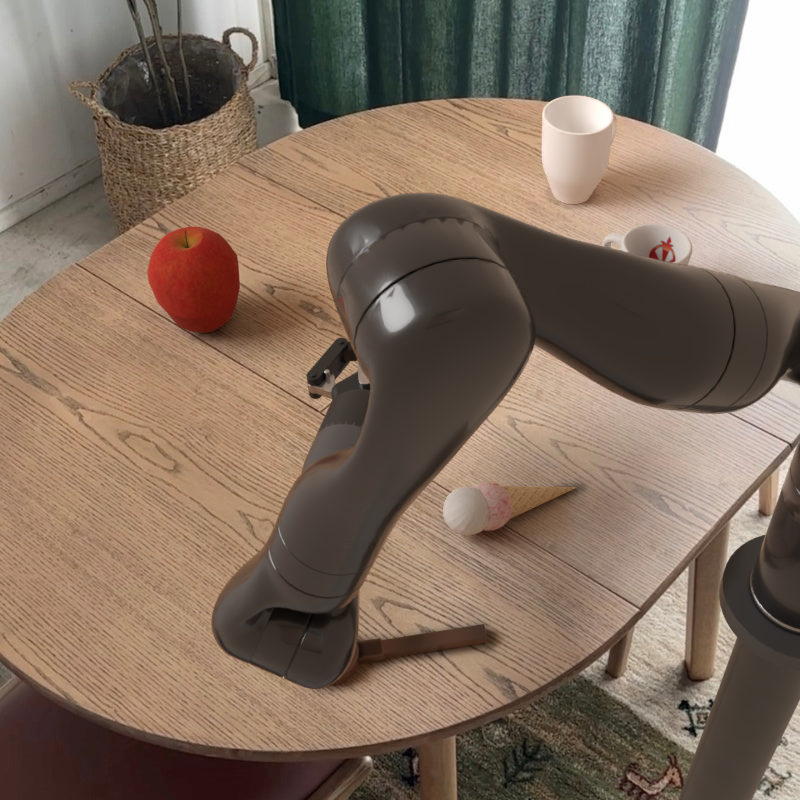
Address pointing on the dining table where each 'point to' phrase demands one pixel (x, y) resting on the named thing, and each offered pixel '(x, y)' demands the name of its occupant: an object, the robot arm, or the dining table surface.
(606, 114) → the mug
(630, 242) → the cup
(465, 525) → the ice cream cone
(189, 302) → the apple
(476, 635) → the wooden spoon
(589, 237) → the dining table surface
